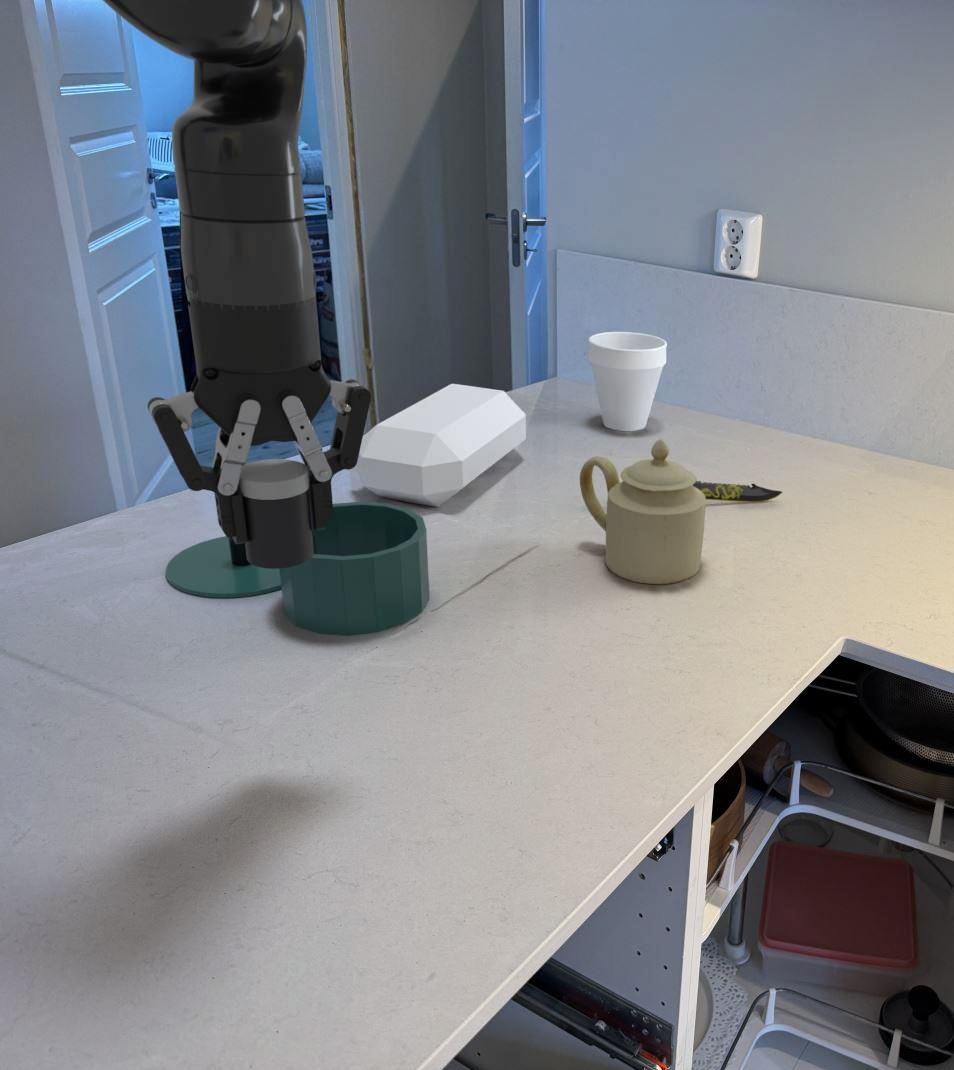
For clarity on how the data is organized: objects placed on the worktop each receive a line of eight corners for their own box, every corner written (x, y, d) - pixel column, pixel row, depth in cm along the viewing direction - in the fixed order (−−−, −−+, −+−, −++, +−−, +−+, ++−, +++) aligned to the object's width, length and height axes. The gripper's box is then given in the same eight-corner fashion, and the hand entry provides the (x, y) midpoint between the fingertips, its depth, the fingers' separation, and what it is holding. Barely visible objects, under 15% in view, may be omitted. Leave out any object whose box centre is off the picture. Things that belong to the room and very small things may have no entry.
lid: (134, 580, 101) (125, 530, 98) (248, 531, 113) (242, 485, 111) (242, 616, 96) (235, 564, 94) (349, 561, 108) (345, 514, 106)
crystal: (334, 430, 118) (442, 374, 143) (340, 504, 122) (444, 437, 147) (446, 446, 116) (536, 387, 141) (449, 522, 120) (536, 451, 145)
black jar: (230, 559, 69) (219, 472, 67) (281, 537, 73) (273, 454, 71) (280, 575, 68) (271, 487, 65) (329, 552, 72) (322, 468, 69)
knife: (775, 514, 136) (782, 480, 134) (779, 519, 135) (786, 484, 133) (609, 505, 128) (615, 469, 126) (612, 509, 126) (617, 473, 125)
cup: (631, 442, 152) (635, 354, 146) (570, 424, 157) (571, 338, 152) (677, 424, 161) (683, 341, 156) (618, 408, 167) (621, 327, 161)
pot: (253, 616, 96) (243, 537, 92) (352, 564, 108) (346, 492, 104) (365, 654, 91) (358, 571, 88) (456, 595, 103) (453, 520, 100)
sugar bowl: (562, 576, 109) (564, 447, 103) (581, 536, 119) (583, 416, 113) (697, 589, 108) (707, 460, 102) (704, 547, 118) (713, 428, 112)
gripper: (347, 274, 70) (363, 498, 77) (114, 281, 62) (155, 531, 69) (384, 295, 64) (397, 534, 71) (133, 306, 56) (175, 574, 63)
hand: (278, 531), depth 70 cm, fingers closed on black jar, 4 cm apart
